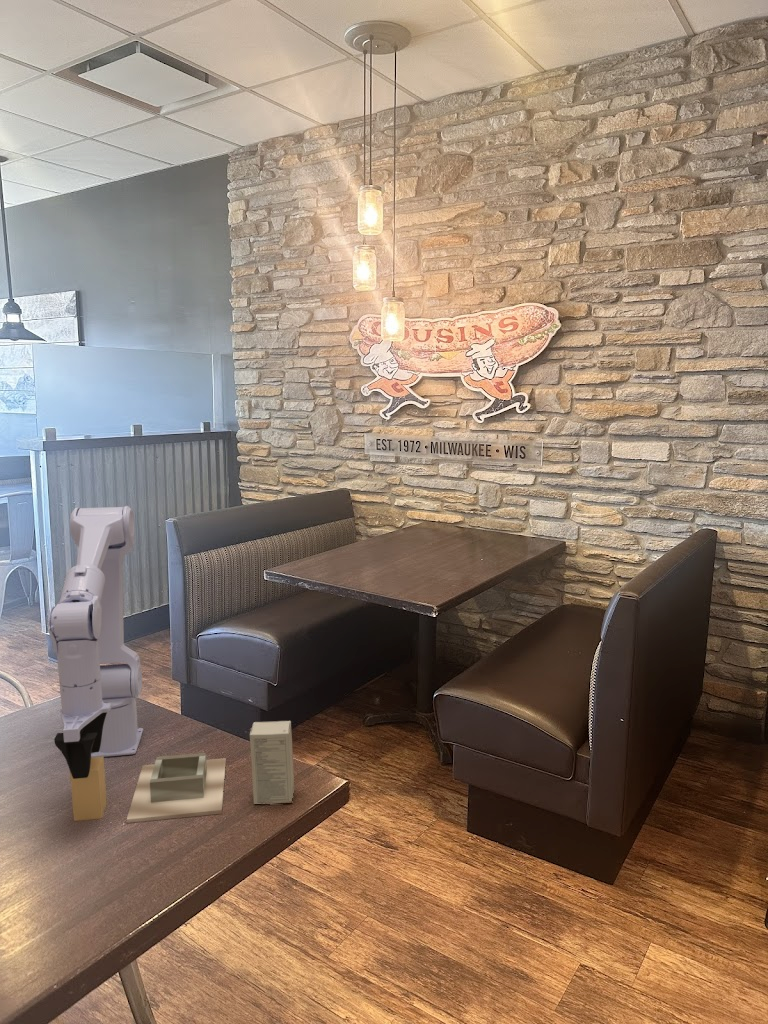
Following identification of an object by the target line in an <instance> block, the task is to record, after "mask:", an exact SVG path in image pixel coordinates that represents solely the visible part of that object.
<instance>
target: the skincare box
mask: <svg viewBox="0 0 768 1024" xmlns="http://www.w3.org/2000/svg"><path fill="white" fill-rule="evenodd" d="M251 726H252V727H251V728H250V732H249V743H250V744H249V746H250V759H251V760H250V761H251V762H250V763H251V776H252V779H251V781H252V793H253V795H252V796H253V797H252V798H253V804H261V803H263V804H265V803H281V802H289V801H292V798H293V799H294V796H293V793H294V794H295V778H294V773H295V772H294V758H293V757H294V756H293V754H294V753H293V737H292V736H293V735H292V734H293V732H292V721H291V720H277V721H255V722H253V723H252V725H251ZM292 802H293V801H292Z"/></svg>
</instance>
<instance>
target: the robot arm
mask: <svg viewBox="0 0 768 1024" xmlns="http://www.w3.org/2000/svg"><path fill="white" fill-rule="evenodd" d="M134 517H135V516H134V512H133V509H132V508H131V507H130V506H129V505H125V506H118V507H117V506H112V507H111V506H110V507H108V506H107V507H82V508H81V507H75V508H74V509H73V510H72V511H71V514H70V517H69V518H70V519H69V529H70V530H69V531H70V535H71V538H72V540H73V542H74V544H75V545H76V546H77V547H78V549H77V550H78V551H77V557H76V558H77V560H76V565H75V566H72V567H71V568H70V569H68V571H67V572H66V574H65V575H66V576H65V579H64V583H63V587H62V591H61V594H60V599H59V602H57V604H56V605H55V606H52V607H51V608H50V610H49V614H48V633H49V638H50V641H51V643H52V650H53V651H52V652H53V653H54V655H56V658H57V667H58V668H57V669H58V679H59V680H58V683H59V693H60V695H59V696H60V706H61V709H60V711H59V712H60V717H61V721H62V725H63V730H62V732H58V733H56V735H55V736H54V739H53V740H54V744H55V747H57V748H58V750H59V751H60V753H62V755H63V757H64V759H65V761H66V764H67V766H68V769H69V771H70V772H71V774H72V777H73V779H78V778H87V777H88V775H89V772H90V764H91V758H95V757H104V758H105V757H106V758H107V757H115V756H126V755H127V756H128V755H135V754H136V753H137V750H138V748H139V744H140V741H141V740H142V739H141V738H142V735H143V732H144V728H142V727H138V713H137V712H138V711H137V702H136V701H137V700H136V699H137V698H138V697H139V696H140V695H141V693H142V689H143V688H142V687H143V686H142V685H143V672H142V671H143V670H142V667H141V657H140V655H139V654H138V653H137V652H136V651H134V650H133V649H131V648H129V647H128V646H126V644H125V641H124V640H125V639H124V637H125V635H124V634H125V632H124V630H125V629H124V627H125V626H124V625H125V624H124V584H123V583H124V582H123V581H124V579H123V577H124V575H123V573H124V572H123V571H124V570H123V566H124V561H125V560H124V559H125V555H127V554H130V553H131V552H133V551H134V546H135V543H136V542H135V540H136V539H135V538H136V537H135V518H134ZM101 664H103V665H101ZM70 772H69V773H70Z"/></svg>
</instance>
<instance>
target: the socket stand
mask: <svg viewBox="0 0 768 1024" xmlns="http://www.w3.org/2000/svg"><path fill="white" fill-rule="evenodd" d="M155 758H156V759H155V762H154V764H143V765H141V766H142V767H141V770H140V774H139V776H138V780H137V783H136V787H135V791H134V794H133V797H132V799H131V803H130V807H129V810H128V814H127V817H126V824H130V823H133V824H134V823H142V822H151V821H161V820H172V819H179V818H190V817H191V818H192V817H201V816H210V815H211V816H212V815H220V814H222V813H223V802H224V792H223V791H224V788H225V780H224V779H226V778H225V777H226V768H225V767H226V764H227V758H226V757H223V758H222V757H221V758H210V759H207V753H206V752H199V753H189V754H186V753H185V754H177V755H165V756H156V757H155Z"/></svg>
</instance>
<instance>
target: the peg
mask: <svg viewBox="0 0 768 1024" xmlns="http://www.w3.org/2000/svg"><path fill="white" fill-rule="evenodd" d="M104 758H105V757H94V758H91V764H90V772H89V775H88V777H87V778H78V779H73V777H72V774H71V772H69V777H70V779H69V780H70V786H71V787H70V789H71V799H72V800H71V803H72V813H73V815H72V816H73V822H78V821H88V820H89V821H90V820H97V819H98V820H99V819H103V816H104V813H105V811H106V808H107V805H108V799H107V797H108V796H107V786H106V785H107V784H106V772H105V760H104Z"/></svg>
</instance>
